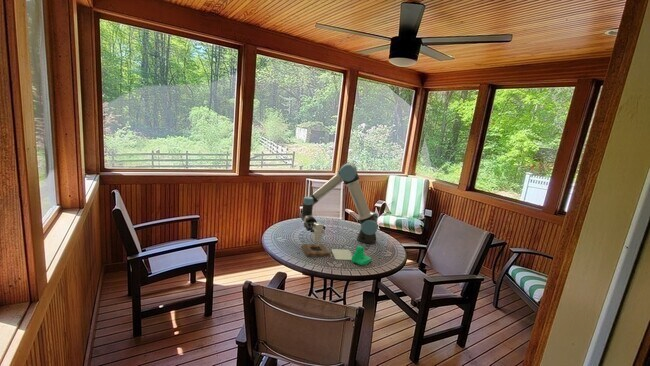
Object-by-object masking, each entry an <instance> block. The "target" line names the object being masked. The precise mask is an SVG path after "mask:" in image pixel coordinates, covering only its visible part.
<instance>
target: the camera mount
mask: <svg viewBox="0 0 650 366" xmlns="http://www.w3.org/2000/svg"><path fill="white" fill-rule="evenodd" d="M364 252H365V247H364V246H362V245H357V247H356V249H355V251H354V253H353V254H352V256H353V257H352V260H350V261H351V262H353V263H355V264H358V265H359V266H366V265H367V264H369V263H370V262H372V258H371V257H370V256H367V255H366V254H365V253H364Z"/></svg>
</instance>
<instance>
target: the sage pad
mask: <svg viewBox="0 0 650 366" xmlns="http://www.w3.org/2000/svg"><path fill="white" fill-rule="evenodd" d="M331 254H332V255H333V258H334V260H335V261H351V260H352V257H353V254H352V252H351V251H350V249H339V248H338V249H337V248H334V249H333V248H331Z"/></svg>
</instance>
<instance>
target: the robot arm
mask: <svg viewBox="0 0 650 366" xmlns="http://www.w3.org/2000/svg"><path fill="white" fill-rule="evenodd" d="M342 183H343V184H344V186H347V188H348V191H349V194H350V196H351V198H352V201H353V204H354V206H355V209H356V211H357V213H358V221H359V224H360V230H359V232H358V234H357V237H356V239H357V241H358V242H361V243H364V244H370V245H371V244H376V243H377V240H378V239H377V231H378V229H379V228H378V227H379V225H378V218H379V217H378V216H379V214H378V213H377V212H374V211H371V210H370V207H369V205H368V203H367V199H366V197H365V194H364V192H363V190H362V187H361V184H360V176H359V174H358V170H357V166H356V165H355V164H354V163H352V162H346V163H344V164H343V165H341V166H340V168H339V170H337V173H336V174H335V175H333V176H332V177H331V178H330V179H329V180H327V181H326V182H324V184H322V185H321V186H320V187H319V188H318V189H316V190H315V191H314V192H313V193H312V194H310V195H309V196H304V197H303V200H302V212H301V213H300V219H301V220H302V222H303V227H304V228H305V229H306V230H307V231H308V232H309V231H310V233H312V234H313V233H314V234H315V235H316V234H317V231H316V230H315V228H313V225H314V223H318V220H317V219H316V218H315V217H314V216H313V208H314V205H316V204H317V203H318V202H319V201H320V200H321V199H323V198H325V196H327V195H328V194H329V193H330V192H332V191H333V190H334V189H335V188H337V187H338V186H339V185H341V184H342ZM325 234H326V225H324V224H323V231H322V236H324V235H325Z"/></svg>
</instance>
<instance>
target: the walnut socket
mask: <svg viewBox="0 0 650 366" xmlns="http://www.w3.org/2000/svg"><path fill="white" fill-rule="evenodd" d="M301 249H302V251H303V252H304V254H305V256H306V257H307V258H310V257H311V258H315V257H318V258H319V257H331V254H332V252H330V249H328V248H327V246H325V244H324V243H301Z"/></svg>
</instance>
